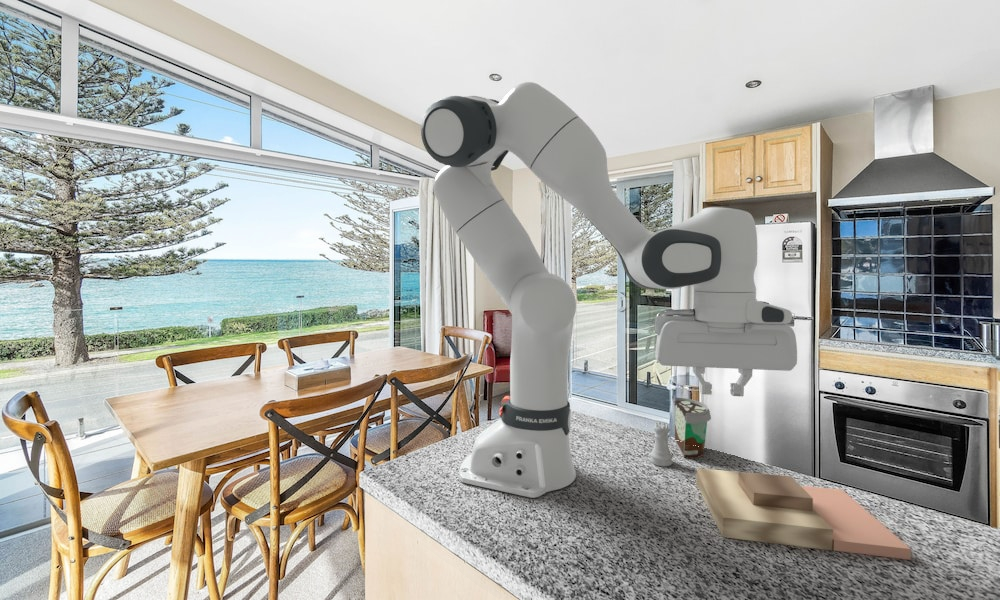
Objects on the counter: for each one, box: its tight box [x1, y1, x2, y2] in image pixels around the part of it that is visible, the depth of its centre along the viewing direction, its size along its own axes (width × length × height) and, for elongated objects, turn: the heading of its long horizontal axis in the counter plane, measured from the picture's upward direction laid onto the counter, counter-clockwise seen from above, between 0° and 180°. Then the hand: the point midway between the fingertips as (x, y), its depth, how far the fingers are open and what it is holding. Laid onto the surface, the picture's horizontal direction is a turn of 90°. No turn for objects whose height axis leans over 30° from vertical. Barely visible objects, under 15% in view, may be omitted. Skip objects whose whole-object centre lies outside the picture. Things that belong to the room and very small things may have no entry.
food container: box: [673, 397, 712, 459], centre depth 92 cm, size 12×6×10 cm, turn 168°
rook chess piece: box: [649, 421, 674, 468], centre depth 86 cm, size 4×4×8 cm
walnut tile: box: [737, 471, 813, 511], centre depth 67 cm, size 8×7×2 cm
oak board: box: [696, 467, 833, 551], centre depth 68 cm, size 14×16×3 cm
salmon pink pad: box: [800, 485, 912, 561], centre depth 65 cm, size 9×16×2 cm, turn 167°
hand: (721, 394), depth 68 cm, fingers open, 3 cm apart
